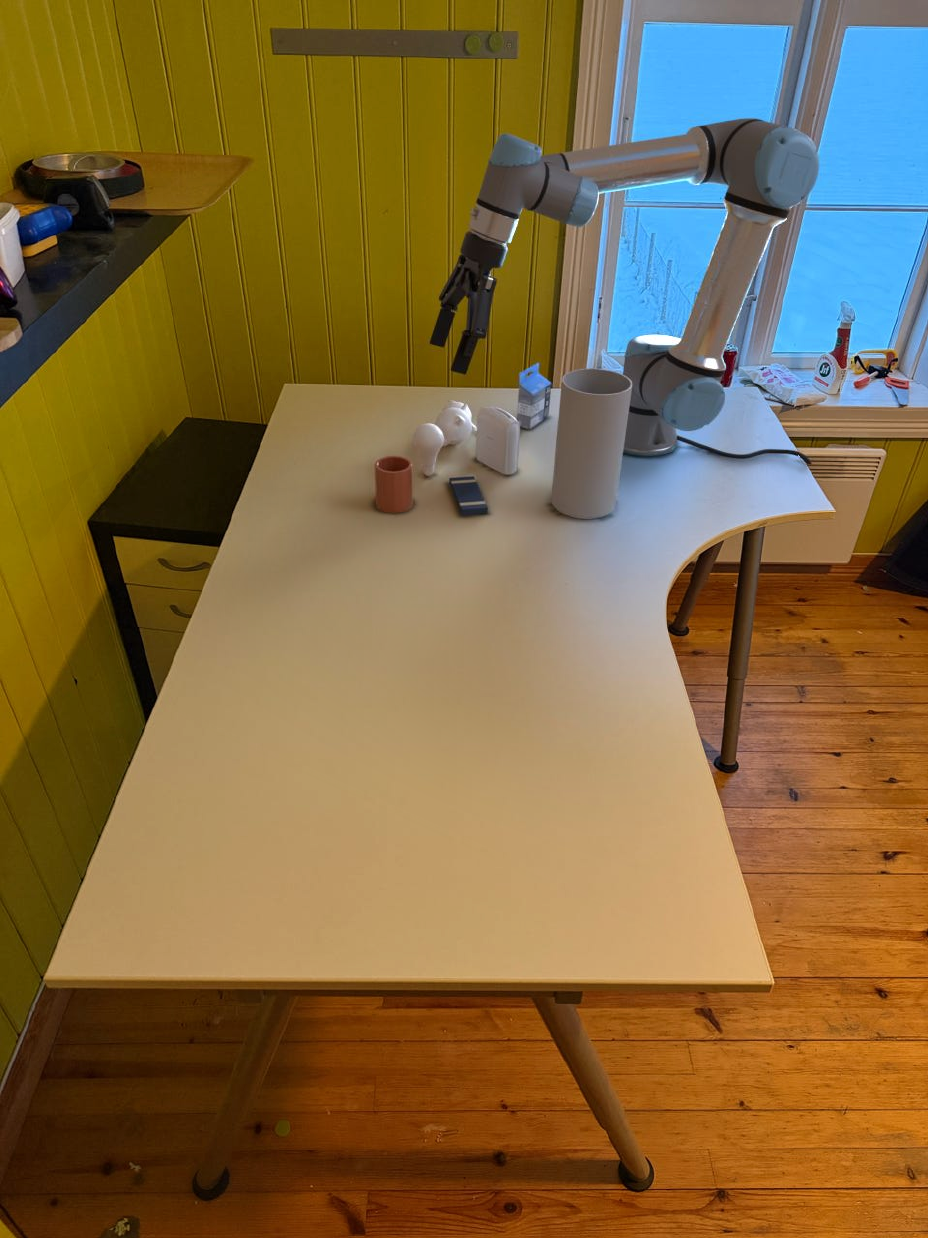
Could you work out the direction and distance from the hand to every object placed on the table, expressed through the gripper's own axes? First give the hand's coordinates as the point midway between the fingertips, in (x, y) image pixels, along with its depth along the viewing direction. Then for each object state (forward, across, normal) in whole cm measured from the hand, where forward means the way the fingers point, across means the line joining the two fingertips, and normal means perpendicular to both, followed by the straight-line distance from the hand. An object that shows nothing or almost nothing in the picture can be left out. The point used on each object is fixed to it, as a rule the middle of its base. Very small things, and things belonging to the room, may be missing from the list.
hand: (446, 358), depth 162 cm
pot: (+30, 0, -1) cm, 30 cm away
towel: (+25, +2, +13) cm, 28 cm away
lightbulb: (+27, -10, +8) cm, 30 cm away
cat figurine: (+23, -24, +19) cm, 39 cm away
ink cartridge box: (+17, -29, +37) cm, 50 cm away
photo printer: (+22, -10, +22) cm, 33 cm away
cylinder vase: (+18, +10, +33) cm, 39 cm away
